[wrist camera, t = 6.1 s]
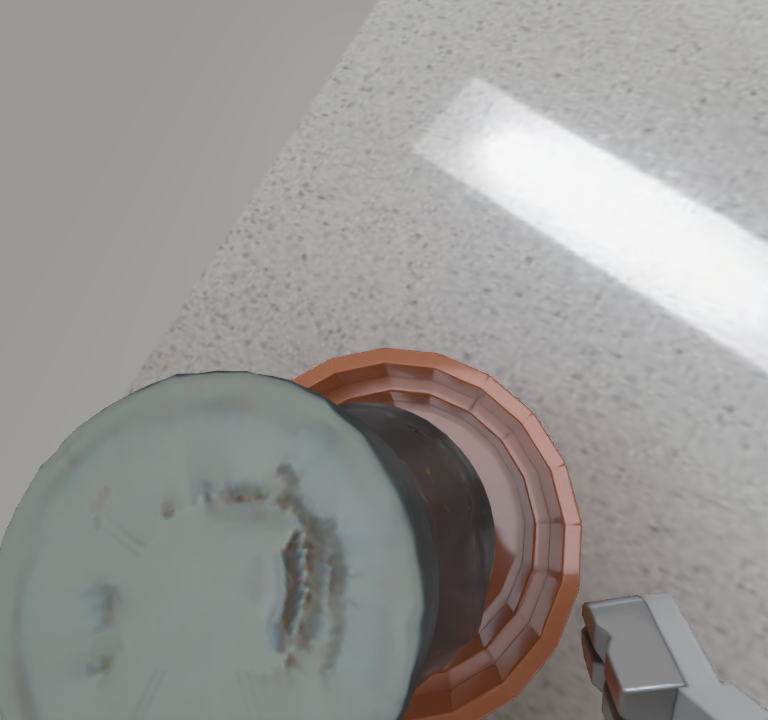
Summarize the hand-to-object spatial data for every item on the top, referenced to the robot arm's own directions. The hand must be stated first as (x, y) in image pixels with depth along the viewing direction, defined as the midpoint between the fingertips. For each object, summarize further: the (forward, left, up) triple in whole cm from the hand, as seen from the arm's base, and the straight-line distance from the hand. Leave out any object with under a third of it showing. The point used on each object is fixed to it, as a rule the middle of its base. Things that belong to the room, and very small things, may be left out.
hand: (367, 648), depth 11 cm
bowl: (0, +2, -14) cm, 14 cm away
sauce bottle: (0, +2, -13) cm, 13 cm away
